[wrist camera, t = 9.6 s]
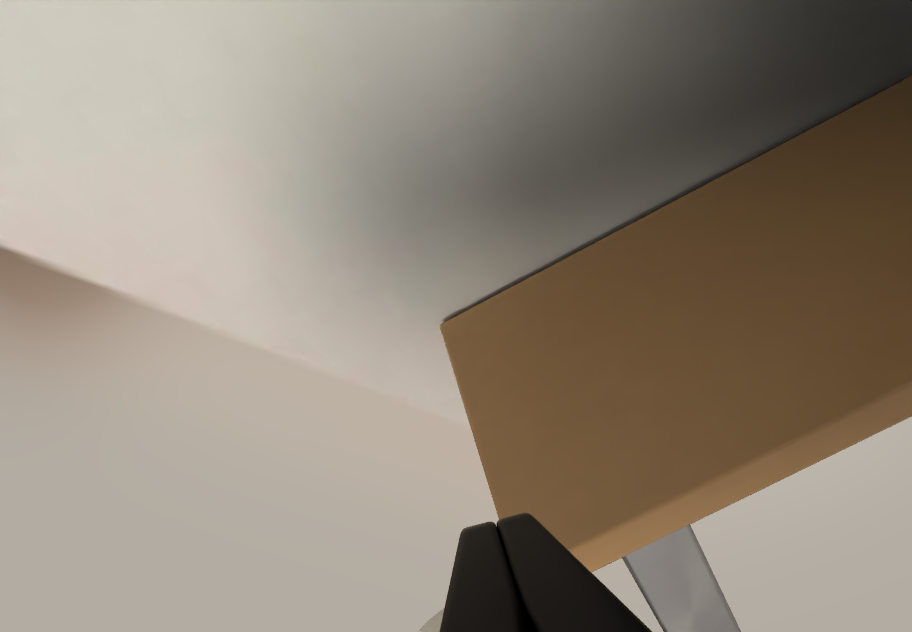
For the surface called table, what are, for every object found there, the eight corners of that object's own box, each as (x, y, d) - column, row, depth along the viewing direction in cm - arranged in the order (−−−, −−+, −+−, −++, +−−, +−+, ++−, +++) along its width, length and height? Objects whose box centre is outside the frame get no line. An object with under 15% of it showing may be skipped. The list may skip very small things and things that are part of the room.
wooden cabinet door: (1013, 229, 24) (1376, 404, 16) (529, 473, 25) (635, 748, 17) (993, 31, 20) (1438, 124, 12) (438, 324, 22) (516, 577, 14)
